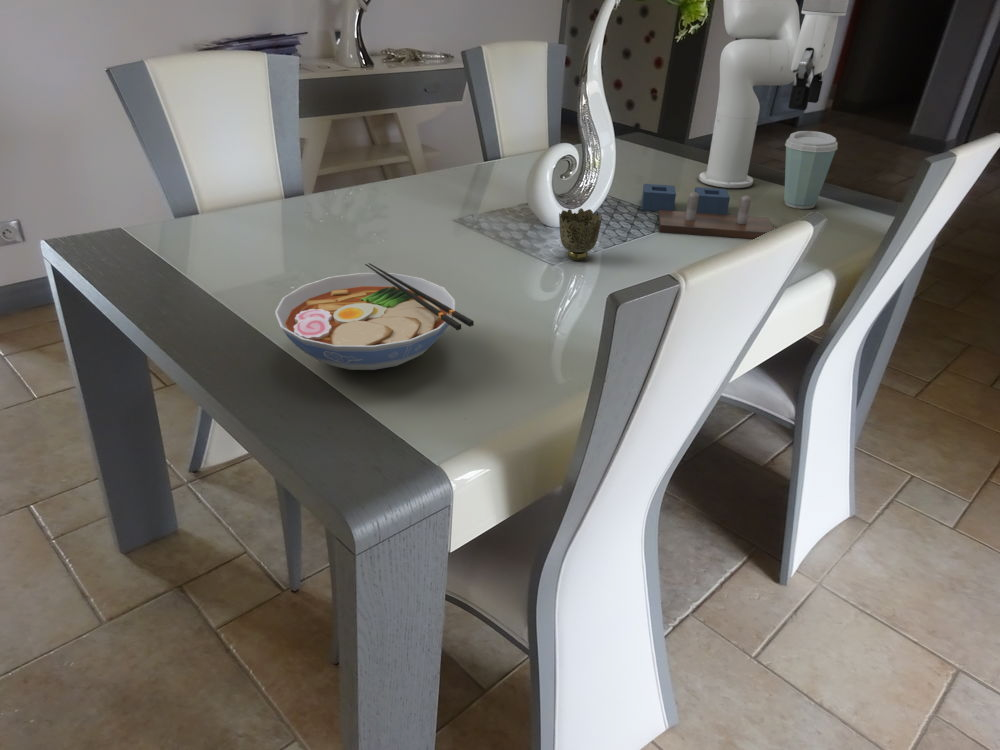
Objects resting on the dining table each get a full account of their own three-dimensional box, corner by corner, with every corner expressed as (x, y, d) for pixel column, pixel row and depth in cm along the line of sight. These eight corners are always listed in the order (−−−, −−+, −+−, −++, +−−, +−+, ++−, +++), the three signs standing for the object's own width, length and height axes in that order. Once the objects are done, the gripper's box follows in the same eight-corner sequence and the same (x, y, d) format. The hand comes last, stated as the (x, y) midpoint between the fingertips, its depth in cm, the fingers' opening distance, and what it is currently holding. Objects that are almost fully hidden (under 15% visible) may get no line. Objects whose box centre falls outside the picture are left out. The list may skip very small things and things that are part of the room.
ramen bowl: (253, 341, 101) (244, 285, 97) (401, 304, 113) (399, 253, 109) (329, 426, 84) (322, 362, 80) (495, 372, 96) (496, 314, 92)
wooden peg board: (658, 216, 155) (662, 183, 151) (767, 224, 152) (774, 190, 148) (659, 232, 146) (664, 197, 142) (775, 240, 143) (783, 205, 140)
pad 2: (692, 205, 162) (695, 186, 160) (723, 207, 162) (726, 189, 160) (694, 214, 157) (697, 195, 155) (726, 216, 156) (730, 197, 154)
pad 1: (641, 201, 164) (643, 183, 162) (671, 203, 163) (674, 185, 161) (641, 210, 158) (644, 191, 156) (673, 212, 157) (676, 194, 155)
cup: (561, 266, 129) (564, 221, 125) (552, 251, 135) (554, 208, 131) (603, 265, 130) (607, 220, 126) (592, 250, 136) (595, 207, 132)
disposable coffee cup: (828, 213, 159) (846, 142, 152) (776, 210, 161) (791, 139, 153) (818, 200, 168) (834, 131, 161) (769, 196, 170) (783, 128, 162)
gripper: (814, 2, 141) (794, 97, 150) (791, 6, 129) (771, 109, 137) (855, 4, 138) (833, 101, 147) (837, 9, 125) (813, 114, 134)
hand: (803, 105), depth 142 cm, fingers open, 9 cm apart
